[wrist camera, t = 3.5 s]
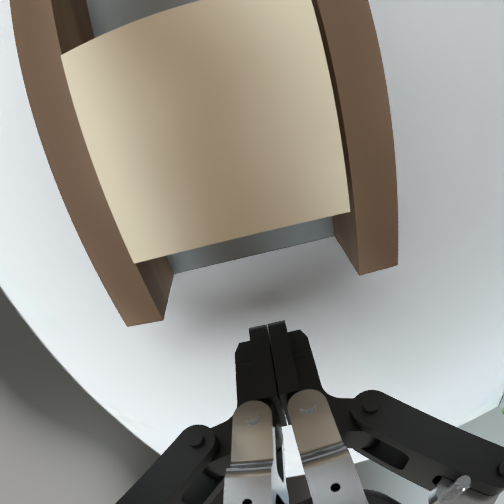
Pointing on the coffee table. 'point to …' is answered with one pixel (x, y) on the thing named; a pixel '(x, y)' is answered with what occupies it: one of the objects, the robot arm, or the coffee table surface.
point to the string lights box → (502, 405)
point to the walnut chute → (163, 268)
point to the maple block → (210, 123)
